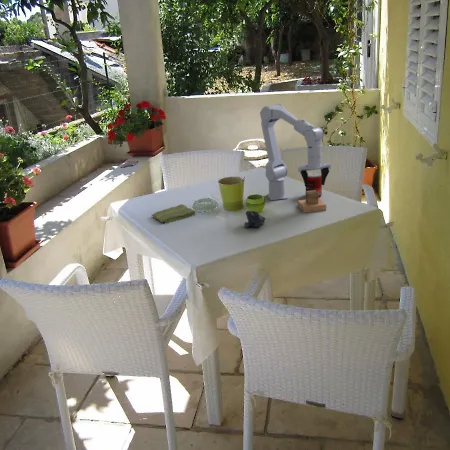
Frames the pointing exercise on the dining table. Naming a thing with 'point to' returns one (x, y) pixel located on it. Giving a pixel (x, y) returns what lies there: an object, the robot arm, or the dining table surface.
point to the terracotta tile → (311, 206)
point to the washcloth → (173, 213)
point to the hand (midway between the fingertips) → (314, 185)
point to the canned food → (314, 182)
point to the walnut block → (311, 197)
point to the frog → (254, 219)
